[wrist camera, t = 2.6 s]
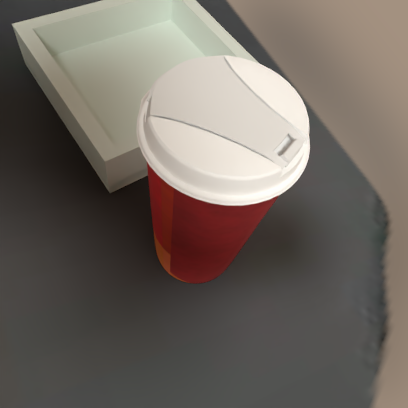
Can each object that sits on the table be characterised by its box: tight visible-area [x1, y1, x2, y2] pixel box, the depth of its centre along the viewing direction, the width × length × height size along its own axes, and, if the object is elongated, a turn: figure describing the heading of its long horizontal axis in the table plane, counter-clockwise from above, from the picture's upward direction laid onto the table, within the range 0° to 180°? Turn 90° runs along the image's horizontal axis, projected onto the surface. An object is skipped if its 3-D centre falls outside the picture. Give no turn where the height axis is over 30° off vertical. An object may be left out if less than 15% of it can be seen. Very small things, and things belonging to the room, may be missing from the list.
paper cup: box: [137, 55, 310, 284], centre depth 22 cm, size 8×8×14 cm
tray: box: [12, 0, 259, 193], centre depth 33 cm, size 16×16×4 cm
